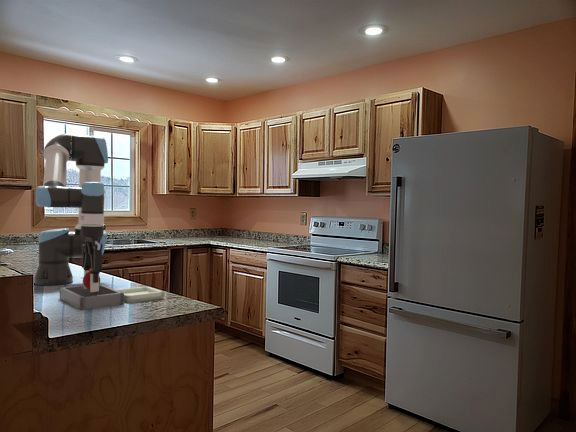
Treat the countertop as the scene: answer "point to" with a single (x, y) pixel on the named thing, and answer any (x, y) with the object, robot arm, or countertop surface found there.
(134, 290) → the tray
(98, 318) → the countertop surface
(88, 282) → the onion
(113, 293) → the bin
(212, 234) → the countertop surface
